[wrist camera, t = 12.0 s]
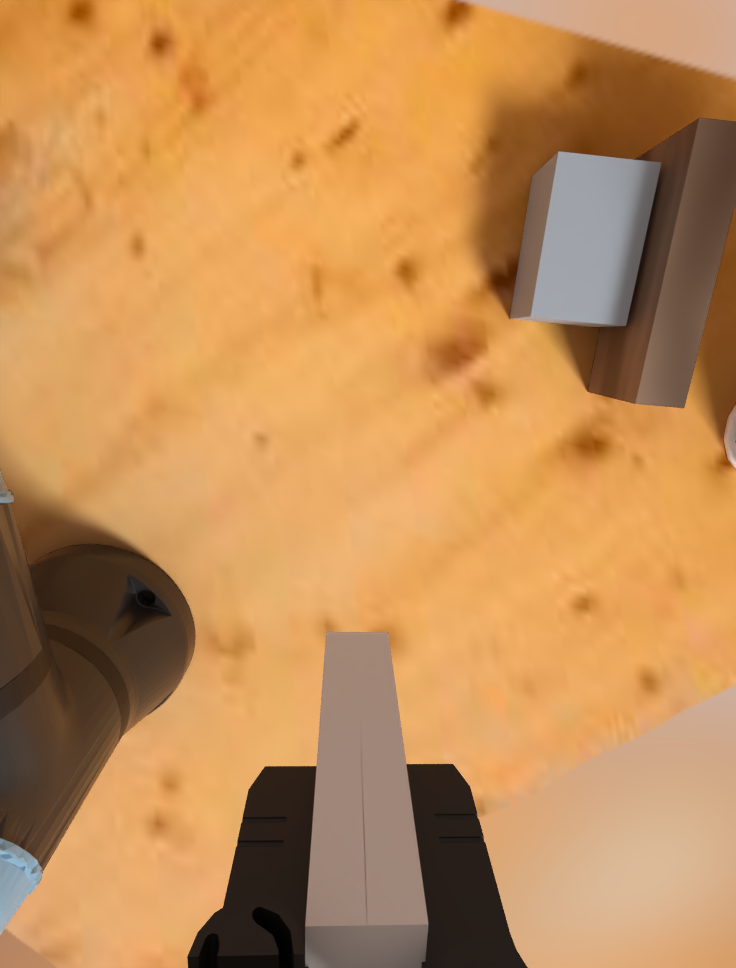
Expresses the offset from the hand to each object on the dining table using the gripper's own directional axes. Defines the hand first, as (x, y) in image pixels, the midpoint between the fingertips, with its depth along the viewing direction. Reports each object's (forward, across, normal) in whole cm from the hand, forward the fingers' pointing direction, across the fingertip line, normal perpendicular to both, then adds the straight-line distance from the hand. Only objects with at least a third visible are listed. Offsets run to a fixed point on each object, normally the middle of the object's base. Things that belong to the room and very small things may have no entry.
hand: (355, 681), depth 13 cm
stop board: (+27, +19, +12) cm, 35 cm away
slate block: (+27, +14, +14) cm, 34 cm away
